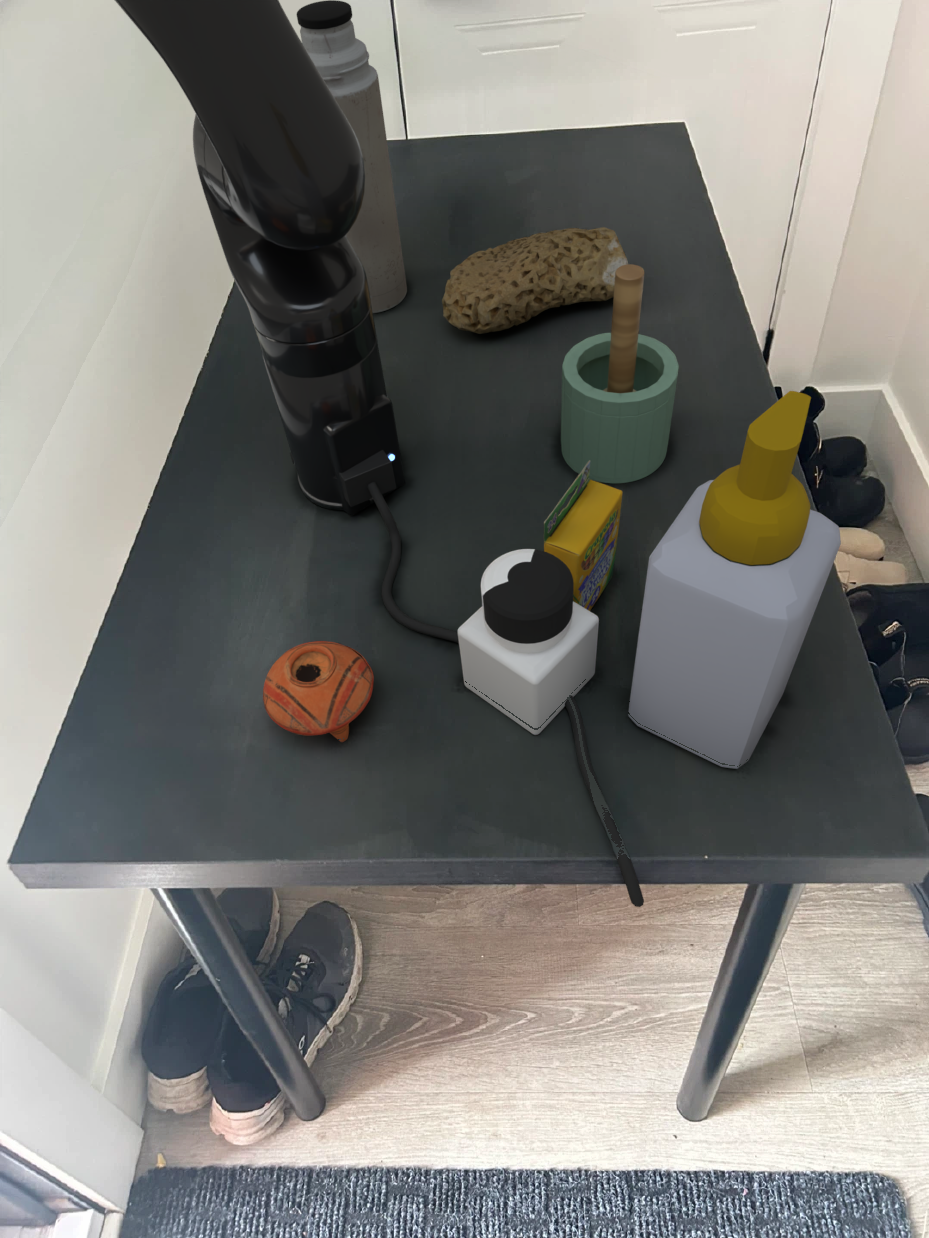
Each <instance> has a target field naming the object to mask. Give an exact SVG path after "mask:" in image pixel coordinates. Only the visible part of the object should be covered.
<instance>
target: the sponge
mask: <svg viewBox="0 0 929 1238" xmlns="http://www.w3.org/2000/svg"><path fill="white" fill-rule="evenodd" d="M627 264H629V262H628V258H627V256H626V253H625V251H624V249H623V247H622V245H621V243H620V241H619V237H618V236H617V233H616V231H615V230H614V229H610V228H607V227H605V226H602V227H596V228H591V229H587V228H584V229H583V228H579V227H568V228H564V229H554V230H549V231H547V232H538V233H534V234H531V235H530V236H524V237H520V238H515V239H511V240H509V241H507V242H506V243H503V244H500V245H497V246H496V247H494V248H492V247H488V248H487V249H486V250H478V251H476V252H474V253H472V254H470V255H468V257H467V258H465V259H464V260H463V261H462V262H461V263H459V264H456V266H455V267H454V268H453V269H451V270H450V272H449V274H450V278H449V279H447V280H446V284H445V286H444V294H443V297H442V299H441V303H442V310H443V311H442V312H443V314H442V316H443V318H444V319H445V320H446V321H447V322H448V323H449V324H450V325H452V327H455V328H457V329H458V330H460V331H463V332H470V333H475V334H478V335H482V334H487V333H495V332H501V331H504V330H508V329H510V328H512V327H514V326H516V327H517V326H518V325H521V324H523V323H526V322H528V321H530V320H531V318H533V317H536V316H538V315H539V314H541V313H542V312H544V311H547V310H548V309H552V308H559V307H561V306H569V305H573V304H578V303H585V302H606V301H608V300H610V299H612V298H614V284H615V272H616V270H617V268H618V267H620V266H622V265H627Z"/></svg>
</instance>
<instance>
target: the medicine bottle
mask: <svg viewBox="0 0 929 1238" xmlns="http://www.w3.org/2000/svg"><path fill="white" fill-rule="evenodd" d="M573 589H574V582H573V577H572V574H571V572H570V570H569V568H568V567H567V565H566V564H565V563H564V562H563V561H561V560H560V559H559V558H557V557H556V556H554V555H552V554H550V553H547V552H544V550H542V549H537V548H536V549H535V548H522V549H521V548H520V549H515V550H512V551H509V552H506V553H504V554H502V555H499V556H498V557H497V558H495V559H494V560H493V561H492V562H490V563H489V564H488V565H487V567H486V569H485V570H484V571H483V573H482V576H481V580H480V595H481V606H480V607H479V608H478V609H477V610H476V611H474V613H473V614H472V615H471V616H470V617H469V618H468V619H467V620H465V621H464V622H463V623H462V624H461V625H460V626H459V627H458V629H457V632H458V640H459V643H458V648H459V654H460V662H461V670H462V677H463V678H462V679H463V685H464V686H465V687H466V688H467V689H468V690H470V691H471V692H473V694H475V695H476V696H478V697H479V698H481V699H482V700H484V702H487V703H488V704H489V705H491V706H493V707H494V708H495V709H496V710H498V711H500V712H501V713H502V714H503V715H505V716H507V717H508V718H509V719H511V720H512V721H513V722H515V723H517V724H518V725H519V726H521V727H522V728H523V729H525V730H526V731H528V732H529V733H531V734H532V735H534V736H538V735H539V734H540V733H542V732H543V731H544V729H545V728H546V727H547V726H548V725H549V724H550V723H551V722H552V721H553V720H554V719H555V718H556V716H558V714H559V713H560V712H561V711H562V710H564V708H566V706H565V702H566V701H565V700H566V699H567V697H569V695H572V696H573V698H574V697H575V696H576V695H577V694H578V693H579V692H580V691H581V690H582V689H583V688H584V686H585V685H586V684H587V683H589V681H591V679H592V678H594V676H595V674H596V664H597V663H596V661H597V649H598V637H599V624H600V622H599V621H600V619H599V616H598V615H597V614H595V613H594V612H592V611H591V610H590V611H588V610H587V609H585V608H584V607H582V606H580V605H579V604H577V603H575V602H574V601H573ZM585 679H586V680H585ZM584 680H585V681H584ZM465 681H466V682H467V683H466V682H465ZM583 681H584V682H583ZM582 682H583V683H582ZM469 684H470V685H469ZM580 684H581V685H580ZM579 685H580V686H579ZM472 686H473V687H472ZM474 687H475V688H476V689H477V690H476V689H475V688H474ZM577 687H578V688H577ZM576 688H577V689H576ZM575 689H576V690H575ZM574 690H575V691H574ZM479 691H480V692H479ZM481 692H482V693H483V694H482V693H481ZM572 692H573V693H572ZM571 693H572V694H571ZM484 694H485V695H487V696H488V697H489V698H490V699H489V698H488V697H486V696H485V695H484ZM491 699H492V700H494V701H495V702H497V703H498V704H500V705H502V706H503V707H504V708H505V709H506V710H508V711H510V712H511V713H513V714H514V715H515V716H517V717H518V718H520V719H521V720H523V721H524V722H526V723H527V724H529V725H530V726H532V727H533V728H538V727H540V726H541V725H542V724H543V723H544V722H545V721H546V719H548V718H549V716H550V715H551V714H552V713H553V712H554V711H555V710H556V709H557V708H558V707H559V706H560V705H561V704H562V702H564V701H565V702H564V703H563V704H562V705H561V706H560V707H559V708H558V709H557V710H556V712H555V713H554V714H553V715H552V716H551V717H550V718H549V719H548V720H547V721H546V722H545V723H544V724H543V725H542V726H541V728H539V729H538V730H534V729H532V728H530V727H529V726H528V725H526V724H525V723H523V722H522V721H520V720H519V719H518V718H516V717H515V716H513V715H512V714H511V713H509V712H508V711H506V710H505V709H503V708H502V707H501V706H499V705H498V704H496V703H495V702H493V701H492V700H491Z"/></svg>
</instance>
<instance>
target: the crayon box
mask: <svg viewBox="0 0 929 1238" xmlns="http://www.w3.org/2000/svg"><path fill="white" fill-rule="evenodd" d="M589 473H590V460H589V461H588V462H587V464H586V465H585V467H584V468H583V470H582V471H581V473H580V474H578V475H577V476H576V478H575V479H574V481H573V482H572V484H571V485H570V486H569V487H568V489H567V490H566V492H565V493H564V494H563V496H562V497H561V498H560V499H559V501H558V502H557V503H556V505H555V506H554V508H553V509H552V511H551V512H550V513H549V515H548V516H547V518H546V519H545V520H544V521H543V551H544V552H547V553H550V554H552V555H554V556H556V557H557V558H559V559H560V560H561V561H563V562H564V563H565V564H566V565H567V567H568V568H569V570H570V572H571V574H572V577H573V582H574V589H573V601H574V602H575V603H577V604H579V605H580V606H582V607H584V608H585V609H587V610H588V611H590V612H591V610H592V608H593V607H594V606H595V604H596V602H597V601H598V599H599V598H600V596H601V595H602V594H603V592H604V590H605V589H606V587H607V586H608V584H609V583H610V581H611V580H612V578H613V576H614V568H615V563H616V555H617V546H618V536H619V528H620V519H621V509H622V501H623V493H624V492H623V490H621V489H619V488H616V487H613V486H611V485H608V484H606V483H603V482H598V481H594V480H591V479H589ZM574 490H575V492H574ZM573 492H574V493H573ZM572 493H573V494H572ZM570 494H572V496H571V497H570V498H569V500H568V503H567V505H566V506H565V507H563V506H564V504H565V503H566V500H567V498H568V496H569V495H570ZM562 507H563V508H562ZM561 508H562V510H561V511H560V509H561ZM559 512H560V513H559Z"/></svg>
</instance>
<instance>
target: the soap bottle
mask: <svg viewBox="0 0 929 1238" xmlns="http://www.w3.org/2000/svg"><path fill="white" fill-rule="evenodd" d="M811 399H812V397H811V396H810V395H808V394H807V393H803V392H799V391H796V390H789V391H787V393H786V394H784V395H783V396H782V397H781V398H780V399H778V400H777V401H776V402H775V403H773V404H772V405H771V406H770V407H769V408H768V409H766V411H764V412H763V413H761V414H760V415H759V416H758V417H757V418H756V419H755V420H754V421H751V423H750V424H749V425H748V429H747V433H746V437H745V440H744V441H745V442H744V446H743V450H742V454H741V459H740V462H739V464H737V465H734V466H732V467H729V468H727V469H725V470H724V471H723V472H721V473H720V474H719V475H718V476H717V477H716V478H715V479H709V480H707V481H706V482H704V483H702V484H701V485H699V486H697V488H696V489H695V490H694V491H693V493H692V494H691V496H690V497H689V499H688V500H687V501H686V503H685V504H684V506H683V508H681V510H680V512H679V513H678V515H677V516H676V517H675V519H674V520H673V522H672V523H671V524H670V526H669V527H668V529H667V530H666V532H665V533H664V535H663V536H662V538H661V539H660V540H659V542H658V543H657V544H656V547H655V548H654V549H653V551H652V552H651V554H650V555H649V557H648V562H647V563H648V564H647V571H646V577H645V586H644V592H643V599H642V607H641V609H642V610H641V615H640V623H639V629H638V636H637V642H636V643H637V644H636V649H635V650H636V651H635V657H634V658H635V659H634V666H633V673H632V680H631V688H630V695H629V701H630V702H629V701H628V711H627V717H629V719H631V721H632V722H633V723H634V724H635V725H636V726H637V727H639V728H641V729H643V730H645V731H647V732H650V733H651V734H653V735H655V736H657V737H660V738H662V739H664V740H666V741H668V742H669V743H672V744H674V745H676V746H678V747H680V748H682V749H683V750H687V751H688V752H691V753H692V754H694V755H697V756H699V757H701V758H703V759H705V760H707V761H709V762H711V763H713V764H715V765H717V766H719V767H721V768H728V769H735V770H738V769H740V768H741V767H742V766H744V764H746V763H747V762H749V761H750V758H751V757H752V755H753V753H754V751H755V749H756V747H757V745H758V743H759V741H760V739H761V738H762V735H763V733H764V731H765V730H766V728H767V725H768V723H769V722H770V720H771V718H772V716H773V714H774V712H775V710H776V708H777V707H778V705H779V702H780V701H781V699H782V697H783V695H784V692H785V690H786V688H787V685H788V682H789V679H790V677H791V674H792V672H793V669H794V667H795V664H796V661H797V659H798V656H799V653H800V651H801V648H802V646H803V644H804V640H805V638H806V635H807V633H808V630H809V627H810V626H811V622H812V620H813V618H814V615H815V612H816V610H817V607H818V604H819V601H820V599H821V596H822V594H823V591H824V588H825V586H826V584H827V581H828V578H829V576H830V573H831V571H832V568H833V565H834V562H835V561H836V558H837V555H838V552H839V550H840V547H841V544H842V540H841V530H840V526H839V525H838V524H836V523H835V522H834V521H832V520H831V519H829V518H828V517H827V516H825V515H824V514H822V512H819V511H817V510H816V511H815V510H813V509H811V502H810V499H809V497H808V493H807V491H806V489H805V487H804V484H803V483H801V481H800V480H799V479H798V478H797V477H796V476H795V475H794V474H793V473H792V472H793V469H794V466H795V462H796V459H797V456H798V452H799V448H800V445H801V442H802V438H803V434H804V430H805V425H806V422H807V417H808V413H809V408H810V403H811ZM628 712H629V713H630V715H631V716H632V717H633V718H634V719H635V720H636V721H637V722H638V723H640V724H641V725H640V724H638V723H637V722H636V721H635V720H634V719H633V718H632V717H631V716H630V715H629V714H628ZM642 725H643V726H642ZM644 726H646V727H648V728H650V729H652V730H655V731H656V732H658V733H656V732H654V731H652V730H650V729H648V728H646V727H644ZM659 733H660V734H659ZM661 734H662V735H661ZM663 735H665V736H666V737H665V736H663ZM667 737H668V738H667ZM669 738H670V739H669ZM671 739H673V740H675V741H677V742H678V743H677V742H675V741H673V740H671ZM679 743H681V744H683V745H685V746H687V747H689V748H692V749H694V750H696V751H698V752H699V753H697V752H695V751H693V750H691V749H689V748H687V747H685V746H683V745H681V744H679ZM700 753H701V754H700ZM702 754H705V755H706V756H708V757H710V758H712V759H714V760H716V761H718V762H720V763H725V764H728V765H722V764H720V763H718V762H716V761H714V760H712V759H710V758H708V757H706V756H704V755H702ZM747 759H748V760H747ZM746 760H747V761H746ZM740 764H741V765H740ZM729 765H735V766H729ZM739 765H740V766H739ZM737 766H738V767H737Z"/></svg>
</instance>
